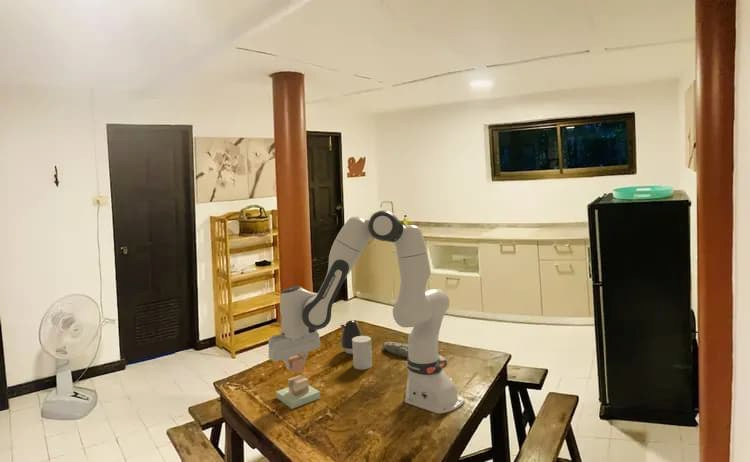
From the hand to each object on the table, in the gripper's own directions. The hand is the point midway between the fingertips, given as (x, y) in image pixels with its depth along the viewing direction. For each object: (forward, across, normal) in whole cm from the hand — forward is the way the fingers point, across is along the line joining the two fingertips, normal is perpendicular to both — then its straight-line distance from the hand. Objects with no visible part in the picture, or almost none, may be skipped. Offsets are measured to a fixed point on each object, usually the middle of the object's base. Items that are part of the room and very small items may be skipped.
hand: (296, 365), depth 181 cm
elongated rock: (+13, +59, -1) cm, 60 cm away
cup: (+13, +36, +7) cm, 39 cm away
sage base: (+12, 0, 0) cm, 13 cm away
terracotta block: (+2, 0, 0) cm, 2 cm away
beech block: (+10, 0, -1) cm, 10 cm away
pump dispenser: (+13, +42, +23) cm, 49 cm away
